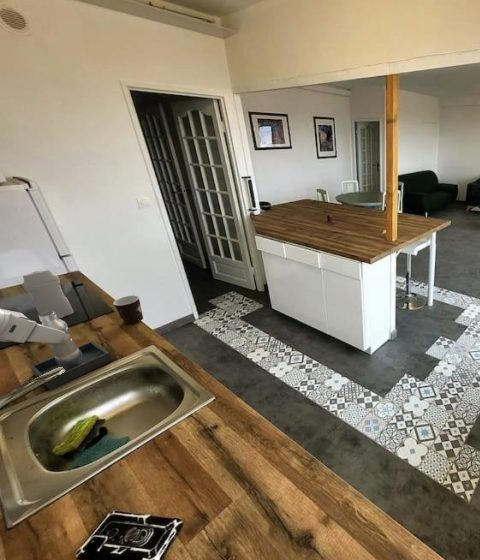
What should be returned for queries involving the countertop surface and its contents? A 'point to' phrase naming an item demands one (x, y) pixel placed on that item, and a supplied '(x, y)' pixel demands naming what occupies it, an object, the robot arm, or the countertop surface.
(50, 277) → the grey tall flat block
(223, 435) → the countertop surface
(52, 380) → the dark blue tray
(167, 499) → the countertop surface
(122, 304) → the coffee mug
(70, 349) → the plastic bottle
